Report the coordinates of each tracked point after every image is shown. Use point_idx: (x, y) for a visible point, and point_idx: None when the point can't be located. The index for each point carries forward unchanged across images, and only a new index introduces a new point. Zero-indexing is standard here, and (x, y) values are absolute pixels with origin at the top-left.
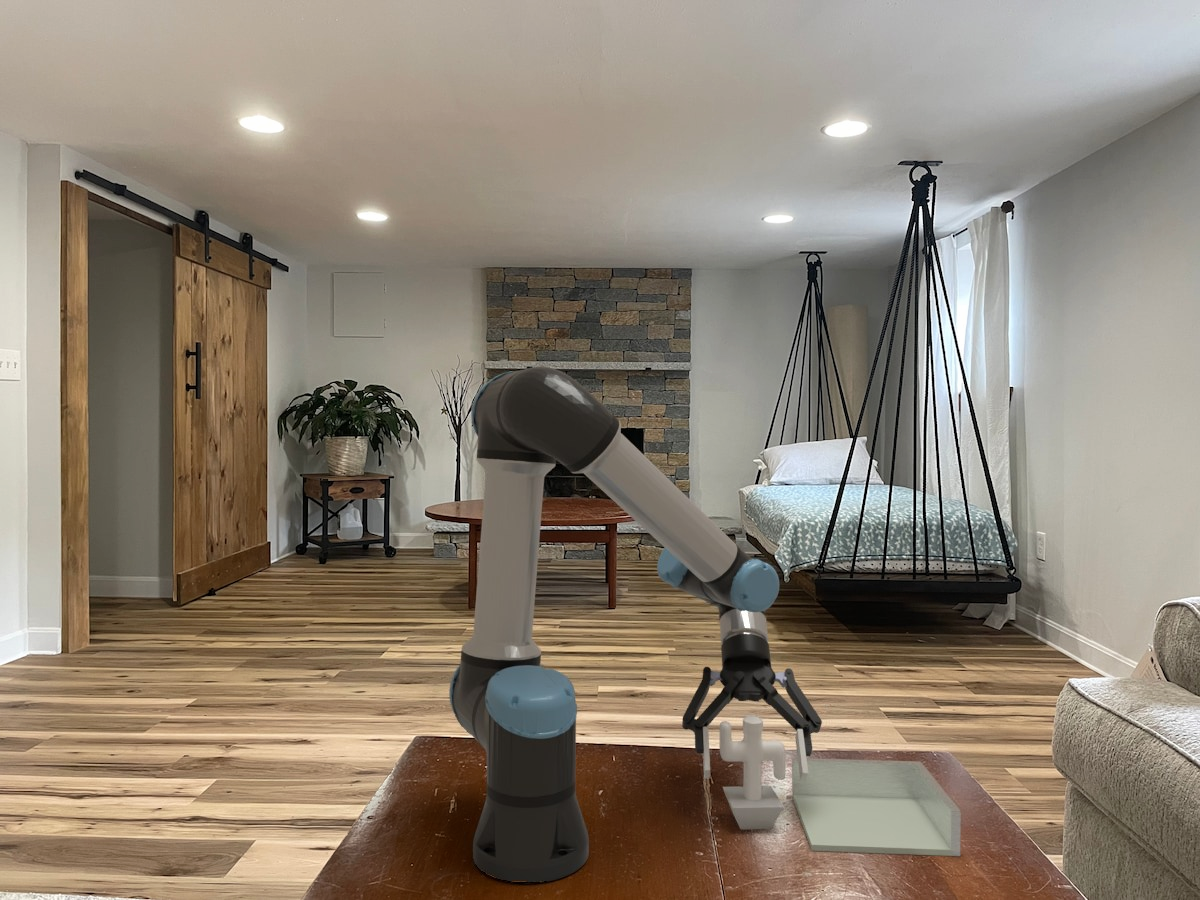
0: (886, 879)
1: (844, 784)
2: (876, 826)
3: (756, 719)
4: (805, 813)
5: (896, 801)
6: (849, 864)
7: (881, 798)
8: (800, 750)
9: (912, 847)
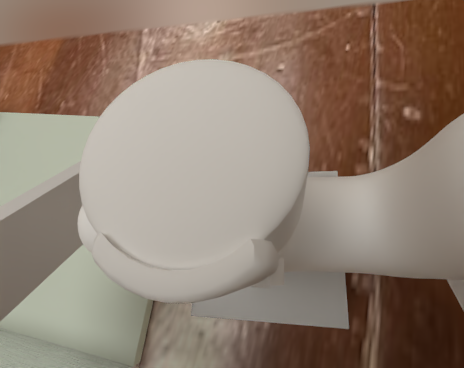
0: (122, 54)
1: (1, 344)
2: None
3: (145, 135)
4: None
5: None
6: None
7: None
8: (37, 197)
9: (42, 116)
